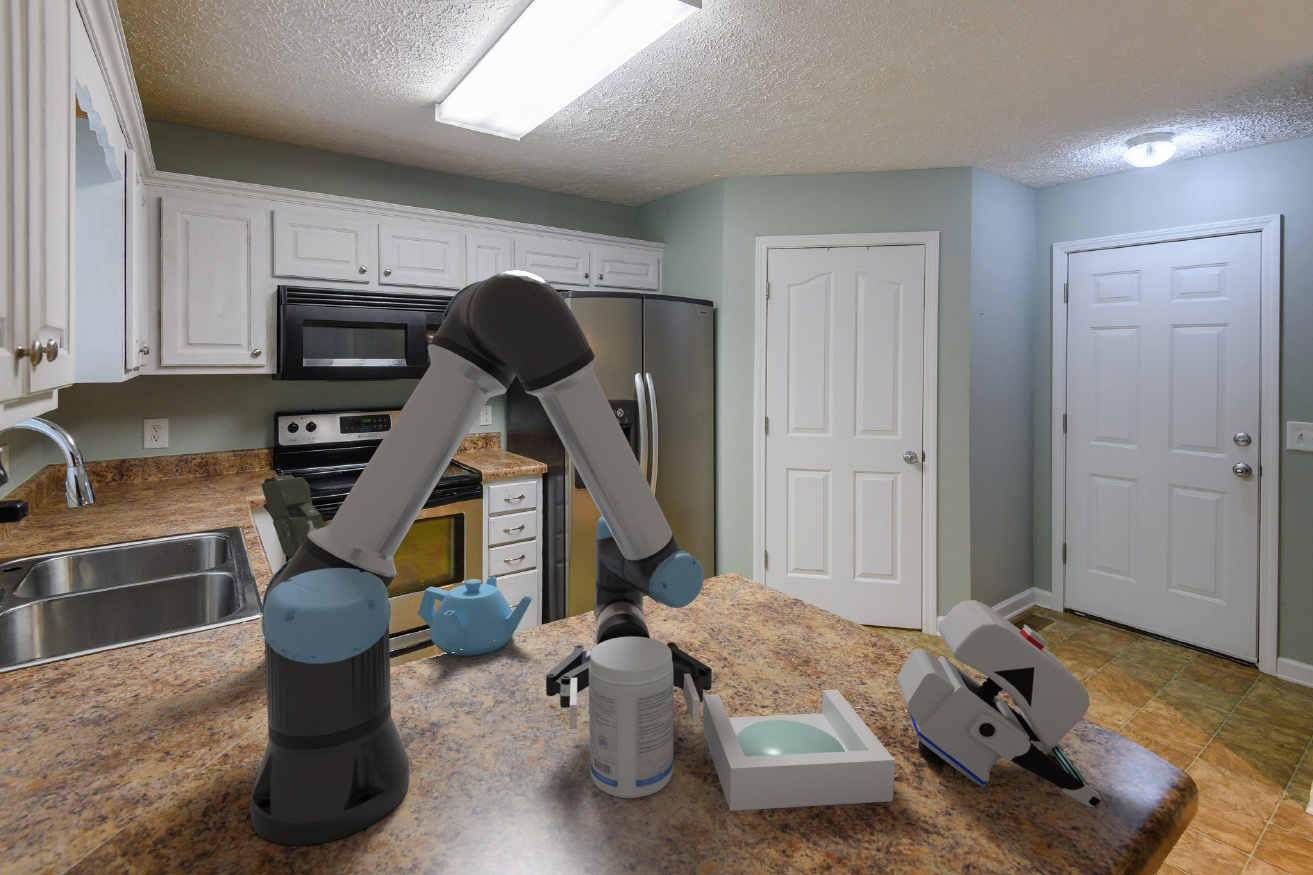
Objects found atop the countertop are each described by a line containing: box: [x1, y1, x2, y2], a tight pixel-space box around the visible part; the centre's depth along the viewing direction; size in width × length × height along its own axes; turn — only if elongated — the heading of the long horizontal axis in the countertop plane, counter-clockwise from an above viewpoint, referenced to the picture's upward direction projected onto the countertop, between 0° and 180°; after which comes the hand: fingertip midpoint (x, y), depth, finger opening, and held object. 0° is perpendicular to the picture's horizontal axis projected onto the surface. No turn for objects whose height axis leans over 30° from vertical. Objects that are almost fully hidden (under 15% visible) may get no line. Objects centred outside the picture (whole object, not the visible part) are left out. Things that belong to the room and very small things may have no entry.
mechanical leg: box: [260, 474, 326, 560], centre depth 106 cm, size 14×7×30 cm, turn 57°
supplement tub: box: [588, 637, 674, 799], centre depth 73 cm, size 10×10×15 cm
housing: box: [702, 689, 896, 812], centre depth 77 cm, size 18×16×5 cm
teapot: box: [417, 576, 533, 657], centre depth 111 cm, size 15×15×11 cm
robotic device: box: [896, 599, 1102, 808], centre depth 76 cm, size 10×21×20 cm
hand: (635, 714), depth 71 cm, fingers open, 13 cm apart
